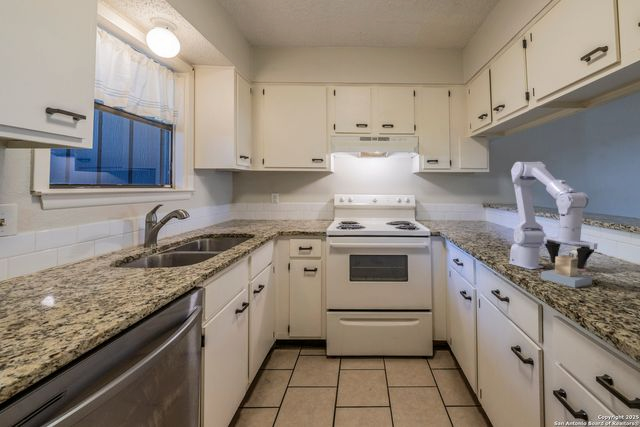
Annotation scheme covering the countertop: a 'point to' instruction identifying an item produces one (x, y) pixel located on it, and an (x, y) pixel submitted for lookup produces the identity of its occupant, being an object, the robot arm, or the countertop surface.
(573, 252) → the pill bottle
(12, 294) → the countertop surface
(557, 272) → the maple cube
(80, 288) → the countertop surface
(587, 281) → the slate-blue block
